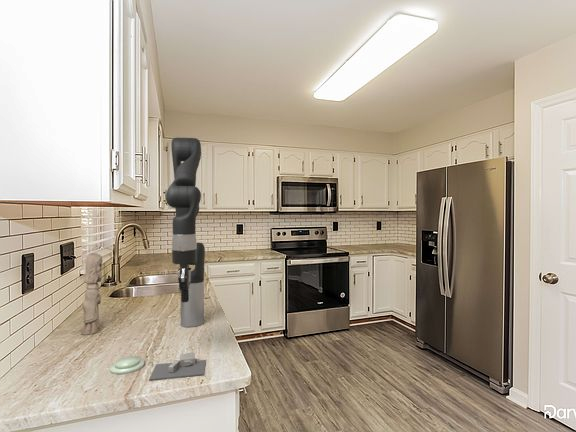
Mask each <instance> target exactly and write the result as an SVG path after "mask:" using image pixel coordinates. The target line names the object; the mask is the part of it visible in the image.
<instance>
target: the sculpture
mask: <svg viewBox="0 0 576 432" xmlns="http://www.w3.org/2000/svg"><path fill="white" fill-rule="evenodd" d="M84 263H85V265H84V266H85V271H84V272H85V273H84V278H83V282H84V283H85V284H86V289H85V291H84V292H85V293H84V300H83V302H82V309H83V328H82V329H81V331H80V334H81V335H83V336H89V335H90V336H91V335H94V334H98V333H100V331H101V328H100V327H101V326H100V313H99V305H101V302H102V301H101V300H102V294H100V285H99V283H100V282H102V280H103V279H102V278H103V274H102V270H103V265H102V264H103V256H102V255H101V254H99V253H95V252H94V253H89V254H88V255H86V257H85V262H84Z"/></svg>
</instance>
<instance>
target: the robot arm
mask: <svg viewBox="0 0 576 432" xmlns="http://www.w3.org/2000/svg"><path fill="white" fill-rule="evenodd" d="M201 145H202V144H201V142H200V140H199V139H198V138H196V137H173V138H172V140H171V145H170V146H171V156H172V157H171V158H172V168H173V181H172V183H170V185H169V187H168V188H167V190H166V193H165V202H166V203H167V205H168V206H169V207H170V208H173V209H175V216H174V217H173V218H172V237H171V260H172V262H171V263H173V265H179V268H178V269H177V276H178V277H177V280H178V287H179V291H180V326H182V327H186V328H192V327H193V328H194V327H199V326H201V325H203V324H204V323H205V258H206V248H205V245H204V243H203V242H198V241H197V236H196V235H197V234H196V231H197V230H196V229H197V228H196V219H197V217H198V215H199V211H200V203H201V199H202V193H201V191H200V189H199V187H197V185H196V183H197V172H198V168H199V166H200V163H201V162H200V161H201V158H202V146H201ZM190 266H194V268H193V269H192V267H190Z"/></svg>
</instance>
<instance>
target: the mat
mask: <svg viewBox="0 0 576 432" xmlns="http://www.w3.org/2000/svg"><path fill="white" fill-rule="evenodd" d="M172 363H173V362H167V363H155V365H154V368H153V370H152V372H151V374H150V377H149V378H148V381H149V382H151V381H152V382H153V381H161V380H171V379H172V380H173V379H181V378H192V377H200V376H201V377H202V376H205V368H206V359H198V360H195V364H193V365H188V366H180V367H179V368H178V369H177V370H176V371H175V372H174V373H169V366H170V365H171V364H172Z"/></svg>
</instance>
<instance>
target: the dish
mask: <svg viewBox="0 0 576 432" xmlns="http://www.w3.org/2000/svg"><path fill="white" fill-rule="evenodd" d="M144 366H145V359H144V358H142V357H139V356H136V355H128V356H123V357H121V358H118V359H117V360H115V362H113V363H111V364H110V366H109V372H110V373H111V374H113V375H127V374H131V373H134V372H137V371H139V370H141V369H142V368H144Z"/></svg>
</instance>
